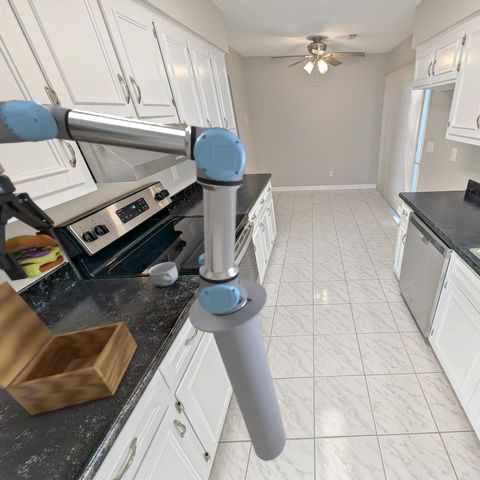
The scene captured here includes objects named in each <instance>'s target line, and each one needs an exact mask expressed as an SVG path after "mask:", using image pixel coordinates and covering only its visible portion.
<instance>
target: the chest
mask: <svg viewBox="0 0 480 480" xmlns="http://www.w3.org/2000/svg"><path fill="white" fill-rule="evenodd" d="M137 348H138V344H137V342H136V340H135V339H134V337H133V335H132V334H131V332H130V330H129V328H128V326H127V324H126V323H125V321H119V322H114V323H108V324H104V325H99V326H93V327H88V328H84V329H79V330H75V331H69V332H65V333H64V332H63V333H60V334H53V335H52V336H51V337H50V339H49V340H48V341H47V342H46V343H45V344H44V345H43V346H42V348H41V349H40V350H39V351H38V352H37V353H36V354H35V355H34V357H33V358H32V359H31V360H30V361H29V362H28V363H27V364H26V366H25V367H24V368H23V369H22V370H21V371H20V372H19V373H18V375H17V376H16V377H15V378H14V379H13V380H12V381H11V382H10V383H9V385H8V386H7V387H6V388H4V389H5V391H6V392H7V393H8V394H9V395H10V396H11V397H12V398H13V399H14V400H15V401H16V402H17V403H18V404H19V405H21V407H22V408H23V409H25V410H26V411H27V413H29V414H30V415H31V416H35V415H39V414H44V413H48V412H51V411H56V410H60V409H65V408H68V407H71V406H72V407H73V406H76V405H79V404H84V403H88V402H91V401H95V400H99V399H105V398H107V397H111V396H114V395H115V393H116V391H117V389H118V387H119V385H120V383H121V382H122V379H123V377H124V375H125V373H126V370H127V369H128V367H129V364H130V362H131V360H132V358H133V356H134V354H135V352H136V350H137Z"/></svg>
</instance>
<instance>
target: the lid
mask: <svg viewBox="0 0 480 480" xmlns="http://www.w3.org/2000/svg"><path fill="white" fill-rule="evenodd" d="M52 336H54V333H53V332H52V331H51V329H50V328H49V327H48V326H47V325H46V324H45V323H44V322H43V320H42V319H41V318H40V317H39V315H37V314H36V312H35V311H34V310H33V309H32V308H31V307H30V306H29V304H28V303H27V302H26V301H25V300H24V299H23V297H21V295H20V294H19V293H18V292H17V291H16V289H15V288H14V287H13V286H12V285H11V284H10V283H9V282H8V281H7V280H6V281H2V282H1V283H0V389H6V388H7V387H8V386H9V385H10V384H11V382H12V381H13V380H14V379H15V378H16V377H17V376H18V375H19V373H20V372H21V371H22V370H23V369H24V368H25V367H26V366H27V364H28V363H29V362H30V361H31V360H32V359H33V358H34V357H35V355H36V354H37V353H38V352H39V351H40V350H41V349H42V348H43V346H44V345H45V344H46V343H47V342H48V341H49V340H50V339H51V337H52Z"/></svg>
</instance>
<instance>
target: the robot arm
mask: <svg viewBox="0 0 480 480" xmlns="http://www.w3.org/2000/svg"><path fill="white" fill-rule="evenodd" d="M54 139H55V140H61V141H62V140H64V141H71V142H79V143H80V142H81V143H86V144H87V143H89V144H95V145H104V146H110V147H117V148H124V149H132V150H139V151H146V152H155V153H162V154H168V155H176V156H183V157H187V158H188V159H189V160H190V161H193V162H195V169H196V170H195V172H196V173H195V175H196V183H198V184H199V185H200V186H201V187H202V201H203V205H202V206H203V209H202V210H203V249H204V252H203V253H202V254H200V255H199V256H198V265H199V266H200V267H199V270H198V272H199V275H198V276H199V278H198V279H199V293H198V296H197V298H198V299H199V303H200V306H201V307H202V308H203V309H204V310H207V311H208V312H211V313H213V314H215V315H219V316H224V315H230V314H233V313H235V312H237V311H239V310H241V309H242V308H243V307H244V306H245V305H246V304H247V302H248V300H249V301H251V299H249V296H248V293H247V291H246V289H245V288H244V286H243V285H242V284H241V282H240V280H241V279H240V267H239V265H238V264H237V263H236V261H235V255H236V225H237V224H236V219H237V190H238V189H239V188H241V187H242V186H243V181H244V180H243V178H244V167H245V165H246V160H247V159H246V158H247V157H246V156H247V155H246V151H245V147H244V144H243V142H242V141H241V139H240V138H239V137H238V136H237V135H236V134H235V133H233V132H232V131H231V130H228V129H227V128H224V127H219V126H215V127H214V126H213V127H208V126H207V127H205V126H196V125H189V126H188V127H186V128H185V127H179V126H174V125H168V124H161V123H156V122H149V121H144V120H138V119H133V118H126V117H120V116H115V115H109V114H102V113H98V112H97V113H96V112H91V111H86V110H79V109H72V108H67V107H62V106H58V105H55V104H49V103H40V102H38V101H35V100H21V99H19V100H18V99H9V100H1V101H0V144H3V145H4V144H18V143H30V142H31V143H38V142H45V141H50V140H54ZM5 171H6V170H5V168H4V167H3V165H2V163H1V162H0V270H1V271H3V272H4V273H5V274H6V276H7V277H8V279H9V280H10V281H11V282H13V281H20V280H26V279H29V278H28V276H27V274H26V273H25V272H24V270H23V269H22V267H21V266H20V265H19V263H18V262H17V260H16V259H15V258H14V256H13V255H12V253H6V240H7V239H6V225H8V222H9V220H11V219H12V218H15V219H17V220H18V221H20V222H22V223H24V224H26V226H29V227H31V228H32V229H34V230H35V231H36V232H35V235H47V236H49V237H51V238H53V239H54V240H55V241H56V242H57V240H56V237H55V235H54V234H53V232H52V230H54V229H55V226H54V225H55V221H54V219H52V217H50V216H49V214H47V213H46V212H45V211H44V210H43V209H42V208H41V207H40V206H39V205H38V204H37V203H35V201H34V200H32V197H31V196H30V195H29V193H28V192H25V191H23V192H16V191H17V188H16V187H15V185H14V183H13V181H12V180H11V178H10V177H9V175H6V174H3V173H5ZM55 246H57V247H59V248H60V251H63V250H62V248H61V247H60V244H57V245H55Z"/></svg>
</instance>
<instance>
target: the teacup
mask: <svg viewBox="0 0 480 480" xmlns="http://www.w3.org/2000/svg"><path fill="white" fill-rule="evenodd" d="M147 274H148V275H149V278H150V280H151V282H152V284H153V285H155V286H158V287H166V286H167V287H168V286H170V285H172V284H174V282H175V281H176V280H177V279H178V278H179V273H178V269H177V264H176V263H175V262H173V261H166V262H165V261H164V262H161V263H158V264H155V265H153V266H151V267H150V268H149V269H148V270H147Z"/></svg>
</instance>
